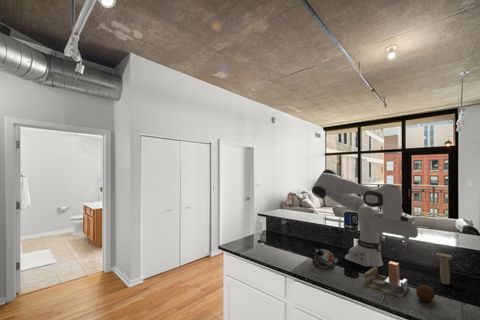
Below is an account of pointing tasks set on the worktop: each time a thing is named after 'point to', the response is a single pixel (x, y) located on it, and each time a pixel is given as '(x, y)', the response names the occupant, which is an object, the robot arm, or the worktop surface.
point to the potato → (425, 293)
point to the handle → (444, 267)
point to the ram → (395, 277)
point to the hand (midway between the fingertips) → (393, 242)
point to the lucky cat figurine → (324, 259)
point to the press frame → (381, 283)
